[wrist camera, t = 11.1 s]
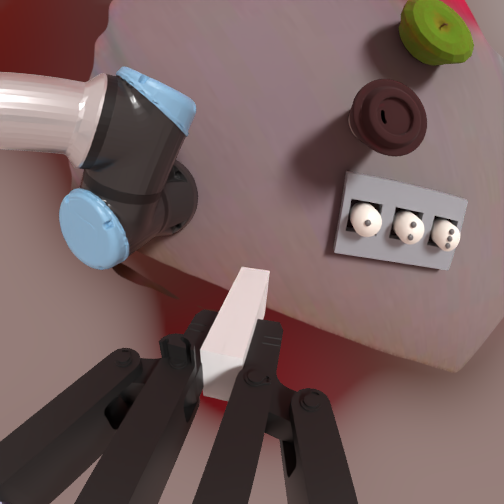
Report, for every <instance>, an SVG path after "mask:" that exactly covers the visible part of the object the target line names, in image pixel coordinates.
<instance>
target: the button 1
mask: <svg viewBox="0 0 504 504" xmlns="http://www.w3.org/2000/svg"><path fill="white" fill-rule="evenodd" d="M349 218H350V221H351V223H352V225H353V227H354V229H355V231H356V232H357V233H358V234H359V235H361V236H363V237H371V236H374V235H375V234H377V233H378V231H379V230H380V228H381V225H382V219H381V216H380V214H379V213H378V211H377V210H376V209H375V208H374V207H373V206H372V205H371V204H370V203H368V202H358V203H356V204H355V205H353V206H352V208H351V210H350V213H349Z"/></svg>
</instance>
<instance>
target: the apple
mask: <svg viewBox="0 0 504 504" xmlns="http://www.w3.org/2000/svg"><path fill="white" fill-rule="evenodd" d="M398 29H399V34H400V38H401V40H402V42H403V44H404V46H405V48H406V49H407V50H408V51H409V52H410V53H411V55H412V56H413V57H415V58H416V59H418V60H419V61H421V62H422V63H425V64H429V65H433V66H435V65H443V64H454V63H463V62H465V61H466V60H467V59H468V58H469V57H471V56H472V51H473V47H474V44H473V40H472V36H471V33H470V31H469V29H468V27H467V26H466V24H465V22H464V21H463V19H462V18H461V17H460V16H459V15H458V14H457V13H456V12H455V11H454V10H453V9H451V8H450V7H449V6H447V5H446V4H444V3H443V2H441V1H439V0H409V1H407V3H406V4H405V6H404V8H403V11H402V13H401V23H400V25H399V28H398Z"/></svg>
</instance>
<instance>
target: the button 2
mask: <svg viewBox="0 0 504 504" xmlns="http://www.w3.org/2000/svg"><path fill="white" fill-rule="evenodd" d="M392 228H393V230H394V232H395V233H396V234H397V235H398V237H399V238H400V239H401V240H402V241H403V242H404V243H406V244H415V243H417V242H418V241H420V239H421V238H422V237H423V234H424V224H423V222H422V221H421V220H420V219H419V218H418V217H417V216H415V215H414V214H413V213H412V212H410V211H409V210H400V211H398V212H397V213H396V214H395V215H394V218H393V222H392Z"/></svg>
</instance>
